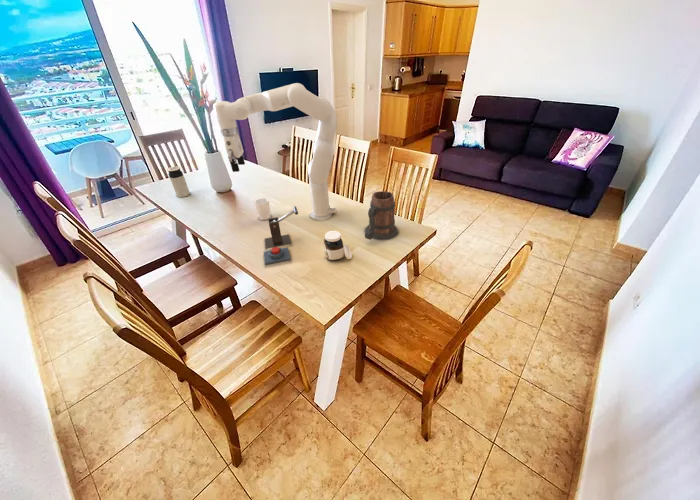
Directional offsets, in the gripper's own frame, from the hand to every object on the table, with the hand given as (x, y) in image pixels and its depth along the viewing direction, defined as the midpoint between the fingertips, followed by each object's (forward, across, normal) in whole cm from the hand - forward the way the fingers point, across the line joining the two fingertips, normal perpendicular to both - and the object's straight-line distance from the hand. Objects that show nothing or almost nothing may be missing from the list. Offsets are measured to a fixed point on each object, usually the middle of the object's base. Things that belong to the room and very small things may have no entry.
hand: (239, 167), depth 146 cm
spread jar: (+31, -35, -47) cm, 67 cm away
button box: (+31, -35, -19) cm, 51 cm away
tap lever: (+19, -21, -23) cm, 36 cm away
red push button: (+27, -35, -19) cm, 49 cm away
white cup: (+31, +5, -5) cm, 32 cm away
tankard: (+32, -17, -67) cm, 76 cm away
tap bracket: (+31, -22, -17) cm, 42 cm away
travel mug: (+30, +40, +56) cm, 75 cm away
